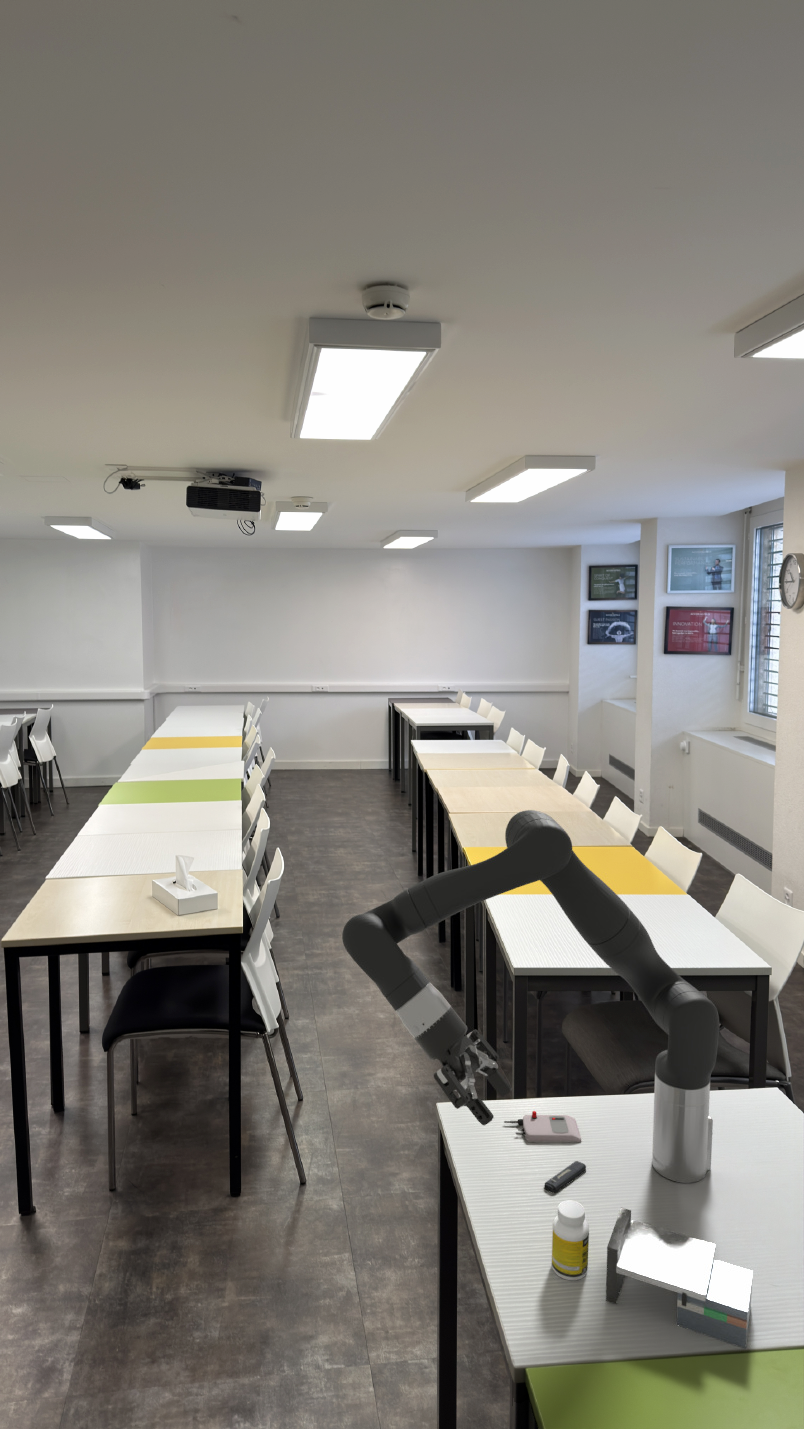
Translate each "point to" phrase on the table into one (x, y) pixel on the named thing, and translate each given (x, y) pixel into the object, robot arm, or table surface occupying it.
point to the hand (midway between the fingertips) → (498, 1107)
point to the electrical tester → (548, 1128)
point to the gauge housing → (721, 1305)
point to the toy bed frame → (657, 1259)
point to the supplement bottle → (570, 1241)
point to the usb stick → (565, 1177)
